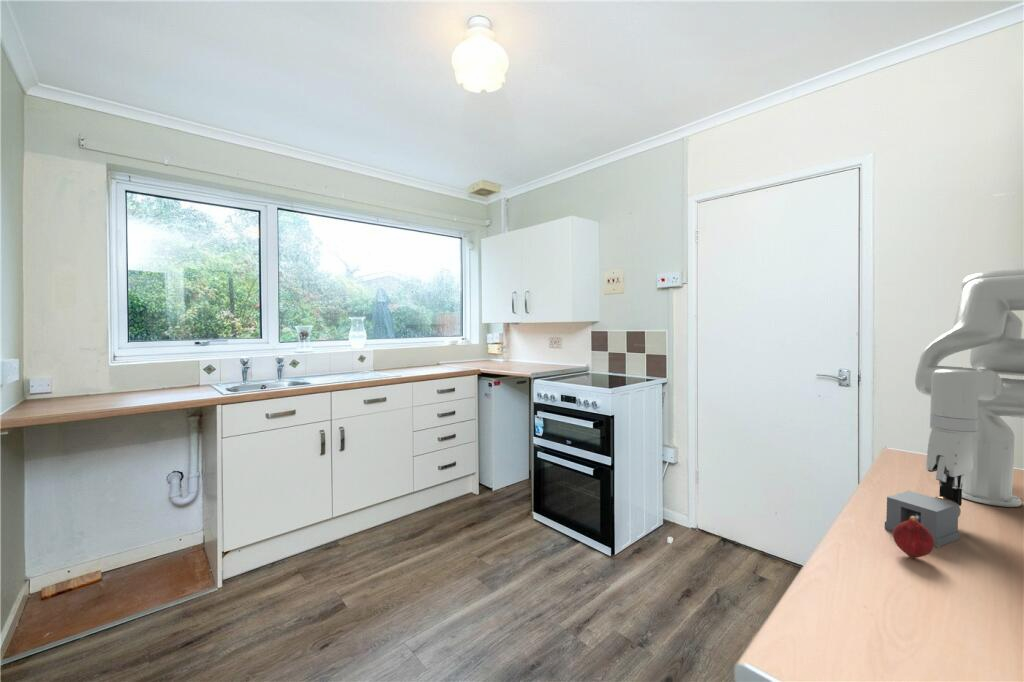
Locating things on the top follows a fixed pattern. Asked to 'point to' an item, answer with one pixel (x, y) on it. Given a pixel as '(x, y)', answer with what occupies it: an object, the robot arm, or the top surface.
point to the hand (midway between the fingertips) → (950, 504)
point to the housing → (925, 515)
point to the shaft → (918, 514)
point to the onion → (913, 538)
